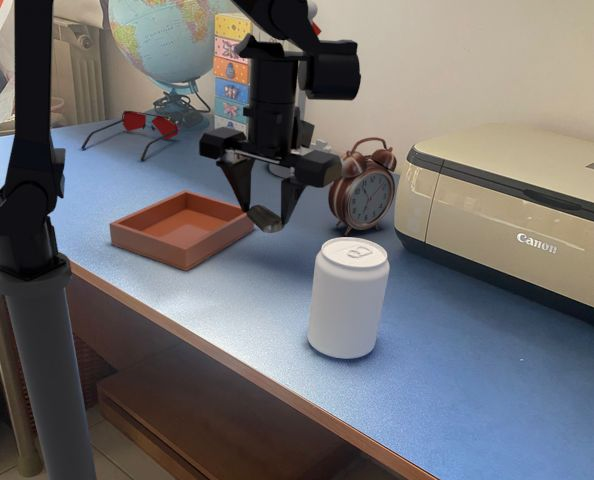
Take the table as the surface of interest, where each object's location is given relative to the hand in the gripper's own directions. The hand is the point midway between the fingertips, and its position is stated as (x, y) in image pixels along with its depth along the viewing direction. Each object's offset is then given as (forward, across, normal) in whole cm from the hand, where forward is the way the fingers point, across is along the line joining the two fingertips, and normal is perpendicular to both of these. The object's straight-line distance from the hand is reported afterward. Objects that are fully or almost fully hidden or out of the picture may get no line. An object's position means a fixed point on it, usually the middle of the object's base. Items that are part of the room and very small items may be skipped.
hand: (265, 217), depth 81 cm
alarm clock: (+7, -6, -20) cm, 22 cm away
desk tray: (+7, +14, 0) cm, 15 cm away
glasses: (+7, +50, -29) cm, 58 cm away
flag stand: (+7, +16, -39) cm, 43 cm away
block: (+1, 0, 0) cm, 1 cm away
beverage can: (+7, -18, +12) cm, 23 cm away
